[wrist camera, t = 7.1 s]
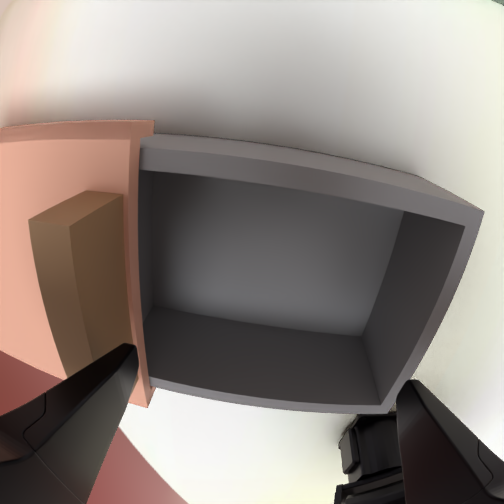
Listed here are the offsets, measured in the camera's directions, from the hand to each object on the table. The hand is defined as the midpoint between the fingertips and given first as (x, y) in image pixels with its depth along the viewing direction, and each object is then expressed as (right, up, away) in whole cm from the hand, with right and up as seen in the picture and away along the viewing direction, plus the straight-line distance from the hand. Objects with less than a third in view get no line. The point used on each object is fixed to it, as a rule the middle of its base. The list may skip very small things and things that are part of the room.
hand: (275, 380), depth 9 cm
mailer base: (0, +4, +10) cm, 11 cm away
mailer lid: (-13, +4, +5) cm, 15 cm away
